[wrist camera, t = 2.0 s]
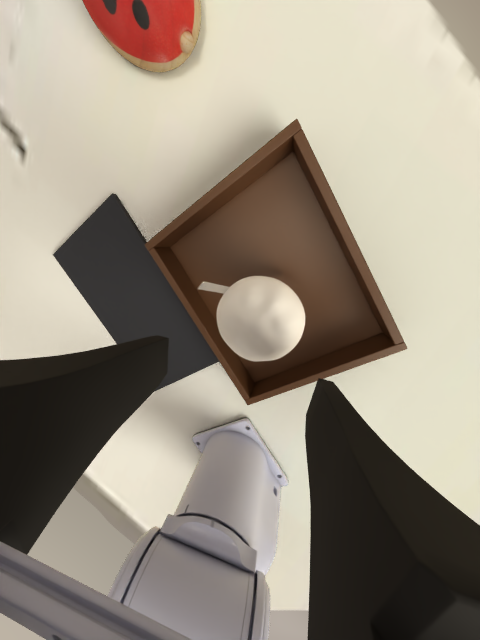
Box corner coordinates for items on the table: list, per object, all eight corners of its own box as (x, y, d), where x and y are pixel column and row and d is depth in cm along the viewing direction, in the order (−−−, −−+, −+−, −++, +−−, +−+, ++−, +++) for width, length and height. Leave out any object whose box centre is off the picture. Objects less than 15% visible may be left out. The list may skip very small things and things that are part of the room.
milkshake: (267, 243, 18) (235, 243, 9) (313, 291, 18) (330, 339, 9) (230, 283, 20) (171, 318, 10) (273, 326, 20) (252, 397, 11)
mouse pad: (221, 359, 23) (220, 361, 22) (153, 390, 26) (151, 392, 26) (115, 193, 20) (112, 192, 20) (56, 254, 24) (52, 254, 23)
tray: (391, 333, 18) (408, 349, 15) (253, 386, 23) (247, 405, 20) (297, 139, 16) (297, 117, 13) (164, 244, 20) (143, 244, 18)
